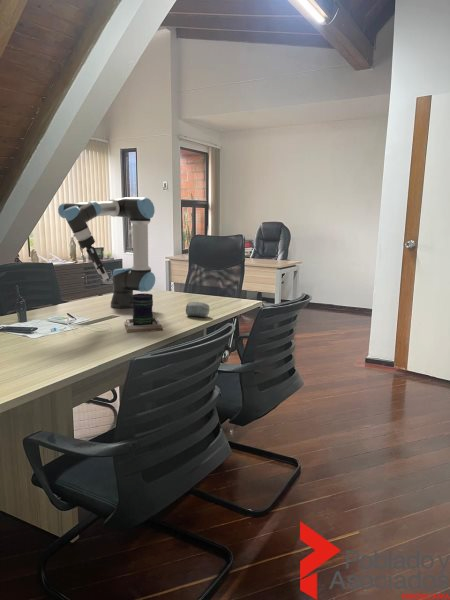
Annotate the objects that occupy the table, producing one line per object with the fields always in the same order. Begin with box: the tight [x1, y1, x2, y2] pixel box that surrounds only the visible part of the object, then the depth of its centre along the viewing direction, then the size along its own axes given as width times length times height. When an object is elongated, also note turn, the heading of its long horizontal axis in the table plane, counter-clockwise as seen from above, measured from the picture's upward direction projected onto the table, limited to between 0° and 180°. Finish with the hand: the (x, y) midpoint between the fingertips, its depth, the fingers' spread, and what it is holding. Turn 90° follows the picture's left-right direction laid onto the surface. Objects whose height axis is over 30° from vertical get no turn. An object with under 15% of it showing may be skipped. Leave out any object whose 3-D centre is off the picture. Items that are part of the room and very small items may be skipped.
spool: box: [185, 301, 211, 318], centre depth 238 cm, size 14×10×10 cm
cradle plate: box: [124, 317, 164, 333], centre depth 212 cm, size 17×17×3 cm
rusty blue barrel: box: [132, 292, 154, 326], centre depth 211 cm, size 10×10×15 cm
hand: (103, 275), depth 217 cm, fingers open, 13 cm apart
